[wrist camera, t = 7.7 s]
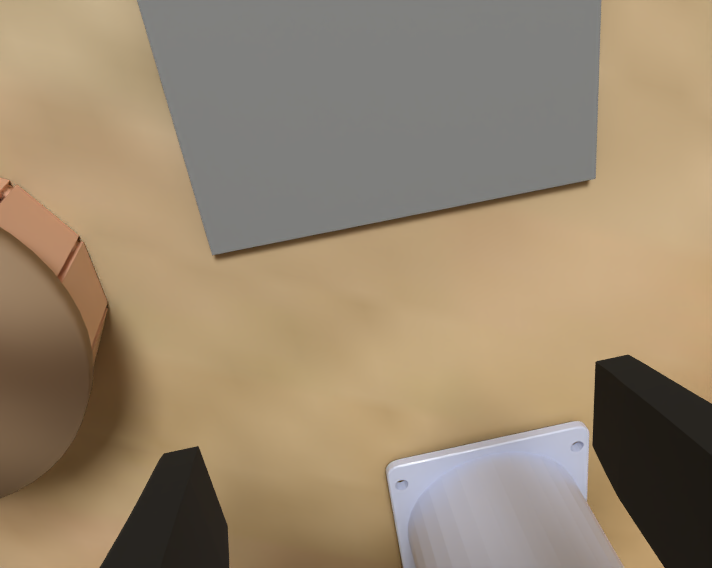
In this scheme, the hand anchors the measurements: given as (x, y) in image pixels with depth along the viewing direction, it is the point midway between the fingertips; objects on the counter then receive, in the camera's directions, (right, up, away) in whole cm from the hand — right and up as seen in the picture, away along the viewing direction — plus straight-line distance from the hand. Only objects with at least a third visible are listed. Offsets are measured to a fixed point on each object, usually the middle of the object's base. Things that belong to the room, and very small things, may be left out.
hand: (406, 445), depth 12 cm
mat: (0, +10, +6) cm, 12 cm away
